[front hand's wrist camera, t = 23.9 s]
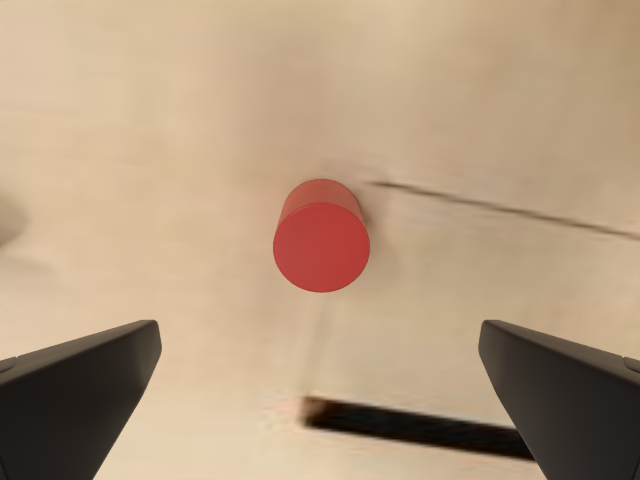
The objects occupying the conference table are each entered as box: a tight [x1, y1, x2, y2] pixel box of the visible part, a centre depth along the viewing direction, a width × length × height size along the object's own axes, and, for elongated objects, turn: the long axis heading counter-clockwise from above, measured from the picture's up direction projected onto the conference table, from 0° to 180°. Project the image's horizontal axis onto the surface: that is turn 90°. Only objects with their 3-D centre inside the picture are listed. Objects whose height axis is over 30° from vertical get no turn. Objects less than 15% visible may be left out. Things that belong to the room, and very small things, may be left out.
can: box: [273, 179, 370, 293], centre depth 19 cm, size 4×4×4 cm
